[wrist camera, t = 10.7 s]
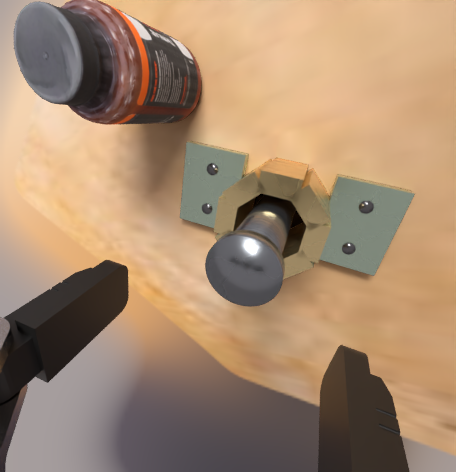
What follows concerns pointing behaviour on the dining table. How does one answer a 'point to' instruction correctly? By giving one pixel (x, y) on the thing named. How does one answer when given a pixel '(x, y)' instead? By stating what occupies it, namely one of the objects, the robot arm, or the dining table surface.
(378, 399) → the robot arm
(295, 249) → the hinge body
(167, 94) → the supplement bottle
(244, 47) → the dining table surface
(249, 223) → the steel pin
